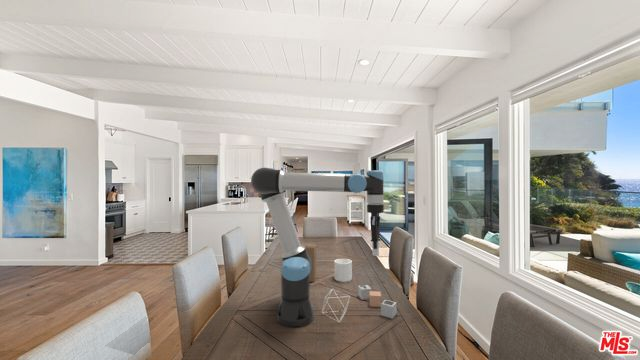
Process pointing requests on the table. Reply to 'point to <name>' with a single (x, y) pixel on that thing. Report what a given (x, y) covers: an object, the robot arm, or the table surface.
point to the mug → (343, 270)
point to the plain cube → (375, 299)
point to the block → (312, 254)
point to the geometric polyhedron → (340, 301)
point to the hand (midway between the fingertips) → (375, 255)
